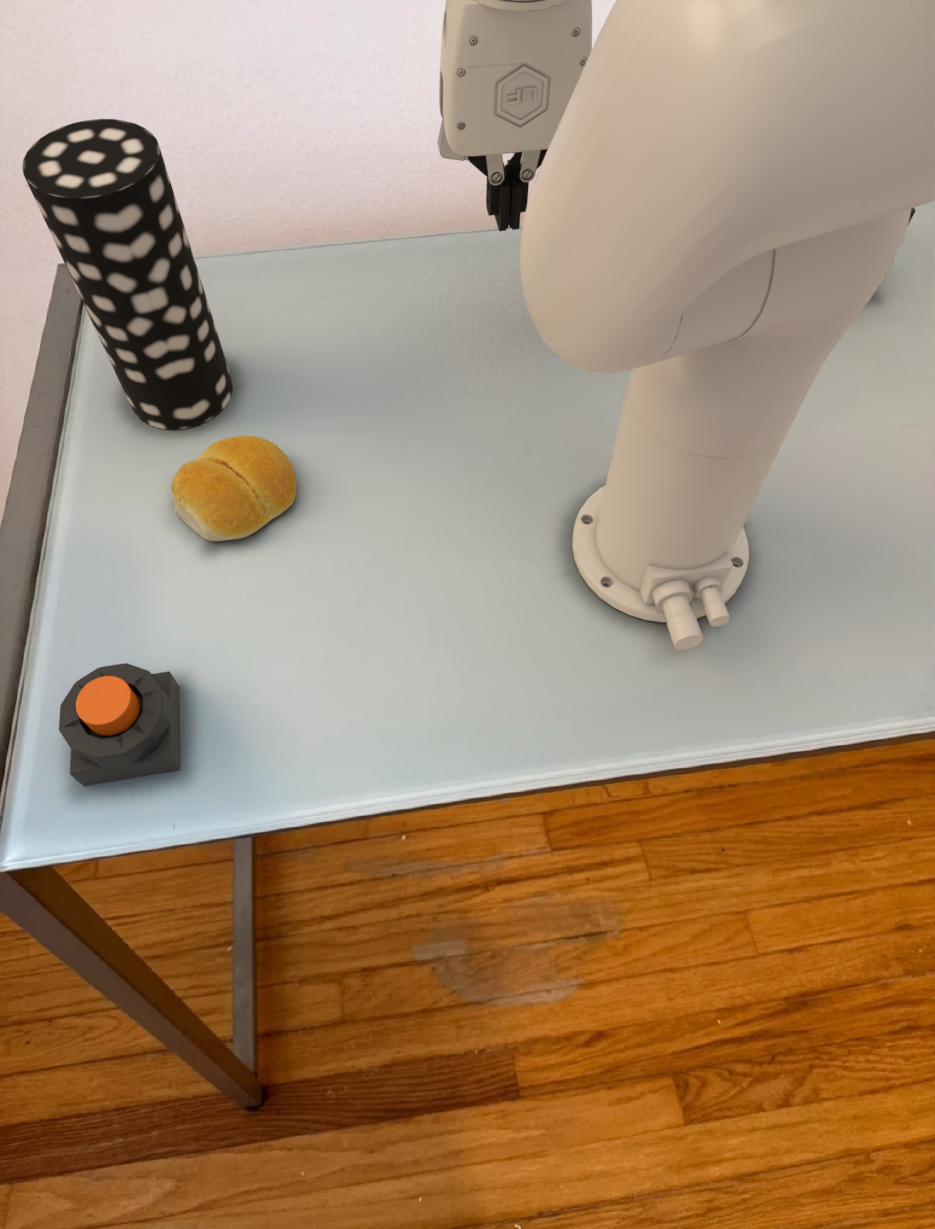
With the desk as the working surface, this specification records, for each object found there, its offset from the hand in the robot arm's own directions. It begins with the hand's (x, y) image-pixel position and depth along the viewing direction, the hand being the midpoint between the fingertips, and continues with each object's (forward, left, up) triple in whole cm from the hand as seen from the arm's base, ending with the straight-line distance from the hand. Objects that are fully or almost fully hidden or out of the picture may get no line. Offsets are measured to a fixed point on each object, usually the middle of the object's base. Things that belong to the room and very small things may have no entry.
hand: (505, 219), depth 69 cm
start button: (-36, +31, -5) cm, 48 cm away
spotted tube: (-6, +28, -8) cm, 30 cm away
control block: (-36, +31, -8) cm, 49 cm away
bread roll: (-18, +24, -8) cm, 31 cm away
